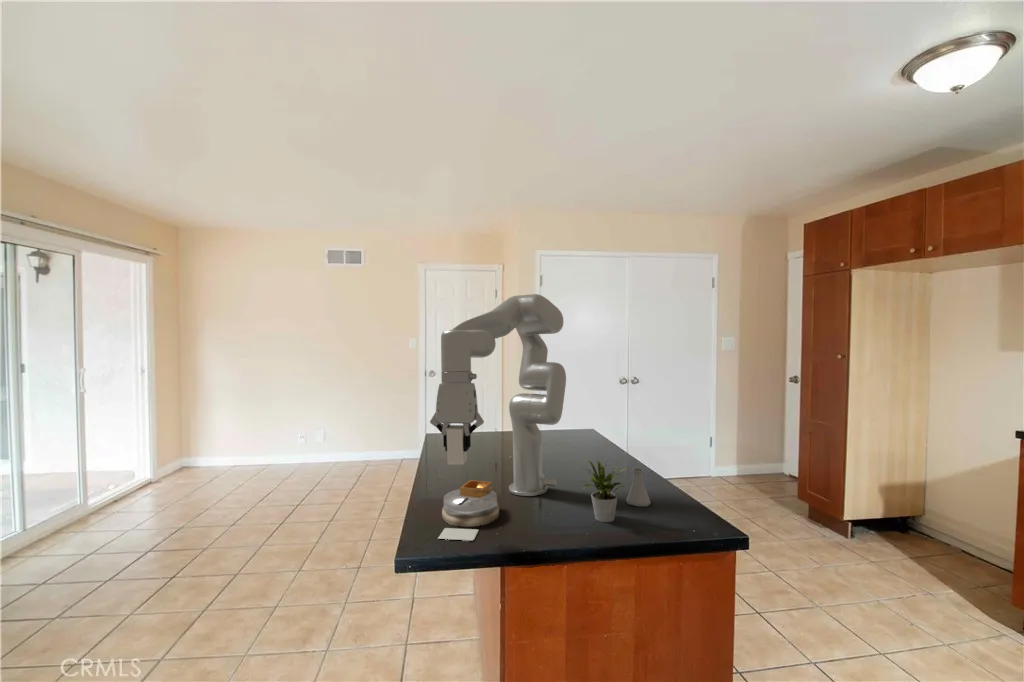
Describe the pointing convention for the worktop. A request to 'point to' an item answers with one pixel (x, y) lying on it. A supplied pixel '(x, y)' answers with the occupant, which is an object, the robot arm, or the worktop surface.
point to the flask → (638, 490)
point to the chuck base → (470, 519)
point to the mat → (458, 534)
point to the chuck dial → (471, 500)
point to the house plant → (603, 493)
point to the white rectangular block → (455, 445)
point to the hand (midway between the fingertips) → (457, 449)
